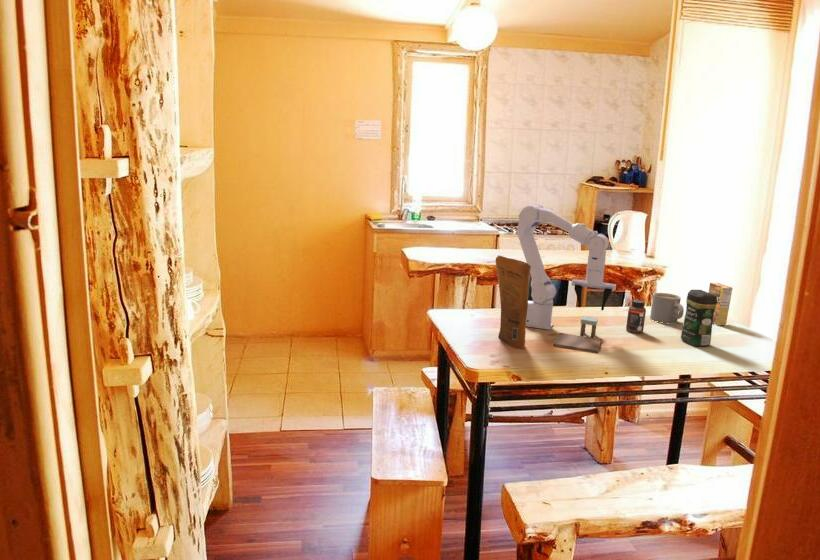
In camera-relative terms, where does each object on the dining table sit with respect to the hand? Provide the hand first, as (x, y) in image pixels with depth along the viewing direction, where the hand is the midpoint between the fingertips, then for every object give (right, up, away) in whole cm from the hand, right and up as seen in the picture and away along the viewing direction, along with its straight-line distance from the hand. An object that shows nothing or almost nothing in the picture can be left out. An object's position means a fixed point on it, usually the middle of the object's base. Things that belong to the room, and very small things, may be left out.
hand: (590, 308), depth 212 cm
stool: (-1, -10, +2) cm, 10 cm away
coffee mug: (+37, -7, +27) cm, 46 cm away
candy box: (+57, -7, +29) cm, 65 cm away
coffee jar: (+36, -12, 0) cm, 38 cm away
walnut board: (-7, -11, -8) cm, 16 cm away
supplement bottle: (+19, -9, +10) cm, 23 cm away
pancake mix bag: (-30, -11, -10) cm, 33 cm away
